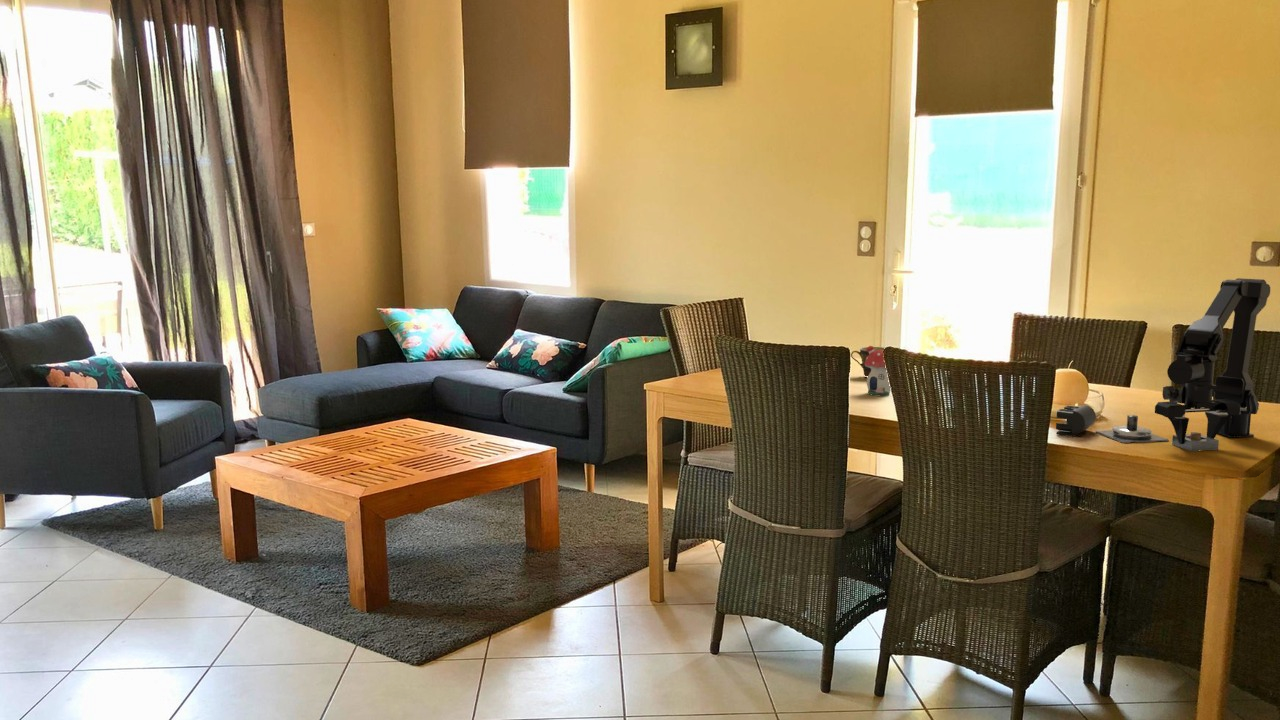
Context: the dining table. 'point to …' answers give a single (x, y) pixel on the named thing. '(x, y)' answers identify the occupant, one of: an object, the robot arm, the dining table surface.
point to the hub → (1131, 432)
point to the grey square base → (1196, 443)
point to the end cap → (1075, 420)
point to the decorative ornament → (877, 373)
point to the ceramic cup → (864, 355)
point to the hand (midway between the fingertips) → (1195, 443)
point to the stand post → (1195, 436)
